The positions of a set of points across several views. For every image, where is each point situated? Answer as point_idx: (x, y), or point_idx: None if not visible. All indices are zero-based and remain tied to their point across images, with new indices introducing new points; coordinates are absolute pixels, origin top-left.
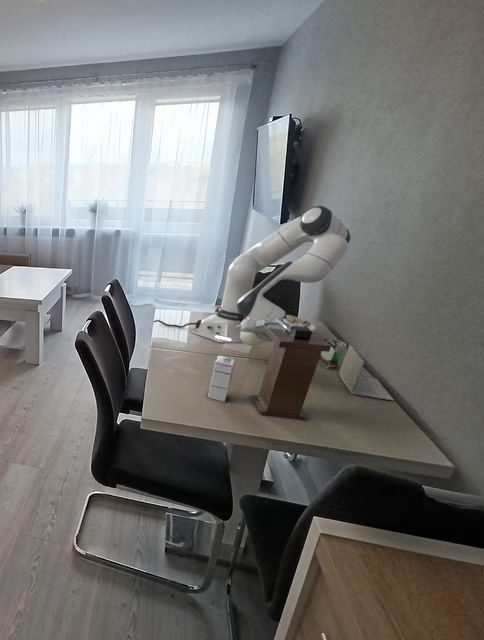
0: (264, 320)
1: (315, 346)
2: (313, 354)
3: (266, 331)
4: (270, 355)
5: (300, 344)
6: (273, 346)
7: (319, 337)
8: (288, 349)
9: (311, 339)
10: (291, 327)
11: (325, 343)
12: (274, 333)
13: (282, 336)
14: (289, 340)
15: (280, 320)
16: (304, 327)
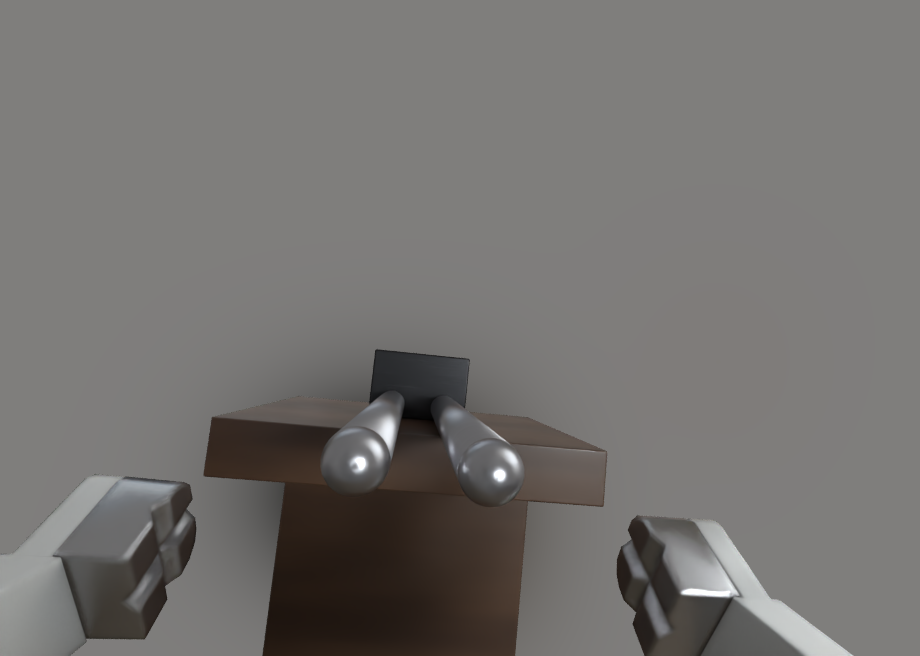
0: (699, 522)
1: None
2: None
3: (603, 482)
4: (515, 639)
5: None
6: (520, 552)
7: (269, 405)
8: None
9: (352, 407)
10: (468, 368)
11: (306, 399)
12: (552, 431)
13: (509, 423)
14: (484, 415)
15: (478, 423)
16: (394, 351)
